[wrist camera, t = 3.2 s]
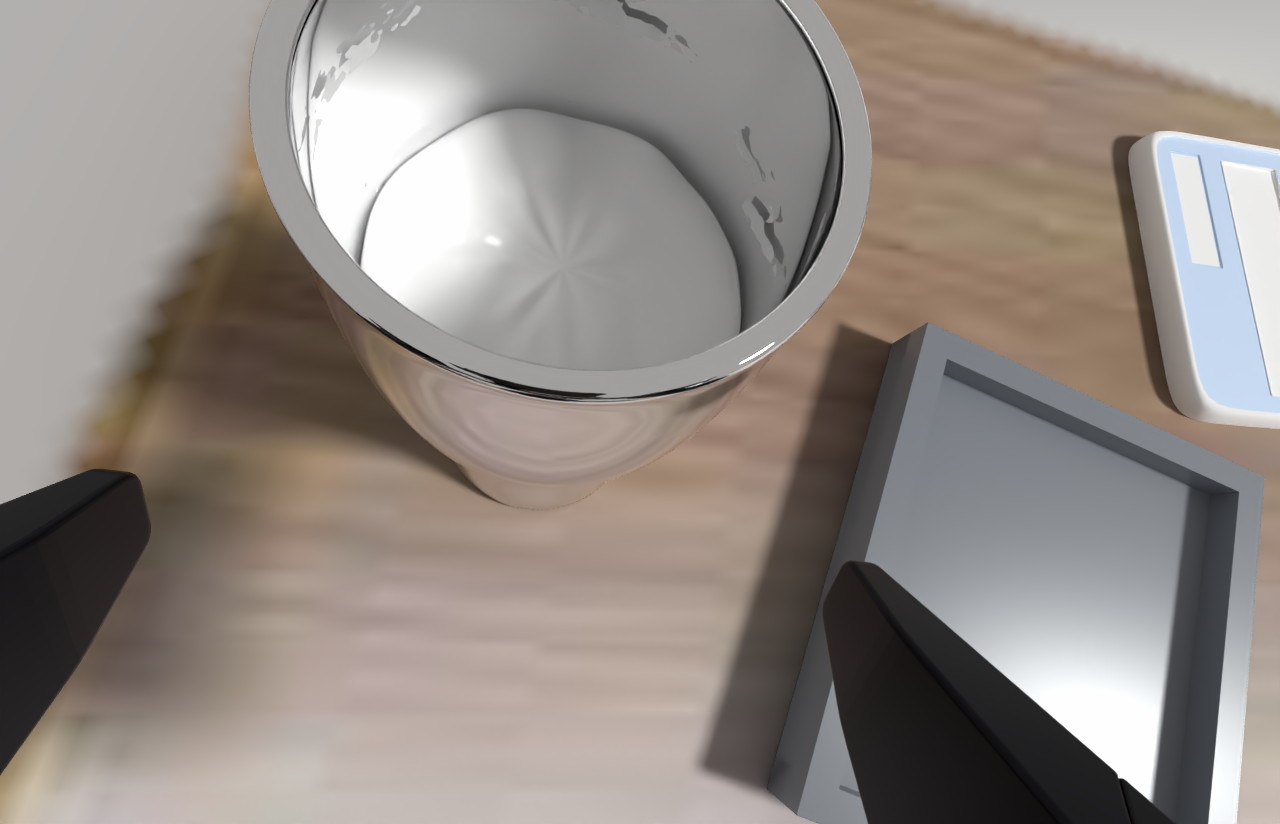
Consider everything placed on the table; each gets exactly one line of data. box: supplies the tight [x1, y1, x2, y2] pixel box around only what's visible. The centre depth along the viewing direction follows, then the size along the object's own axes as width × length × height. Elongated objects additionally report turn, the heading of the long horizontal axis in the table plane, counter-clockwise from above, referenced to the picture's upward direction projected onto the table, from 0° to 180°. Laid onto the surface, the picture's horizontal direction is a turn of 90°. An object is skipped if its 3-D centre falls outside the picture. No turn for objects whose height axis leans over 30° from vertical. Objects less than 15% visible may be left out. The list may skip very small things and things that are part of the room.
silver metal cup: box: [249, 0, 872, 510], centre depth 14 cm, size 7×7×15 cm
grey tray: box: [767, 322, 1265, 824], centre depth 21 cm, size 16×14×2 cm
